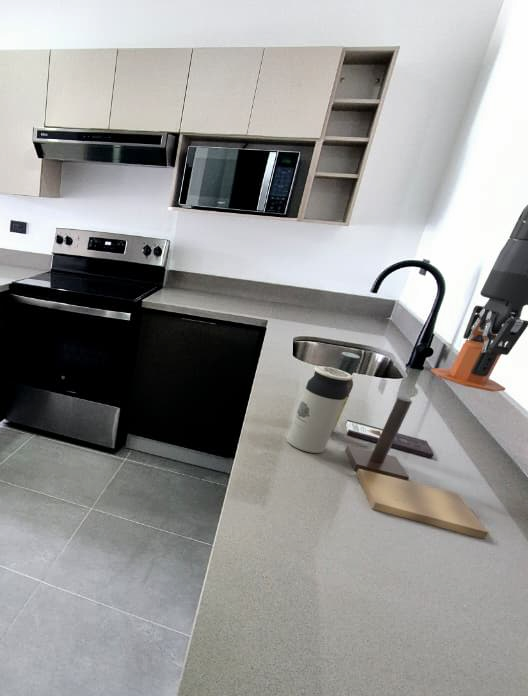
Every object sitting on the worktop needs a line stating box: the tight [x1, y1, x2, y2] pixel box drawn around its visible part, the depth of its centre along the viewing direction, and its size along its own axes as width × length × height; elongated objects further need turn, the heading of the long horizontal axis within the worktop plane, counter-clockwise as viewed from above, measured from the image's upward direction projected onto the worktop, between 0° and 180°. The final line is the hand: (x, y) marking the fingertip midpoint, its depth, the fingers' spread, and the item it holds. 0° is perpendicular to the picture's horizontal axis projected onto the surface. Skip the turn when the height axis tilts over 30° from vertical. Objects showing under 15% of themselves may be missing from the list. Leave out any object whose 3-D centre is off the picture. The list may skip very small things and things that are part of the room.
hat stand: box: [344, 396, 413, 481], centre depth 106 cm, size 10×10×16 cm
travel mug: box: [286, 365, 353, 454], centre depth 111 cm, size 8×8×18 cm
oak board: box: [355, 469, 489, 540], centre depth 96 cm, size 18×14×2 cm
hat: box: [430, 339, 506, 392], centre depth 87 cm, size 10×10×6 cm
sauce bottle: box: [331, 351, 361, 434], centre depth 121 cm, size 7×6×20 cm
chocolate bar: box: [345, 419, 434, 459], centre depth 124 cm, size 9×1×18 cm
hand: (471, 370), depth 88 cm, fingers closed on hat, 5 cm apart
